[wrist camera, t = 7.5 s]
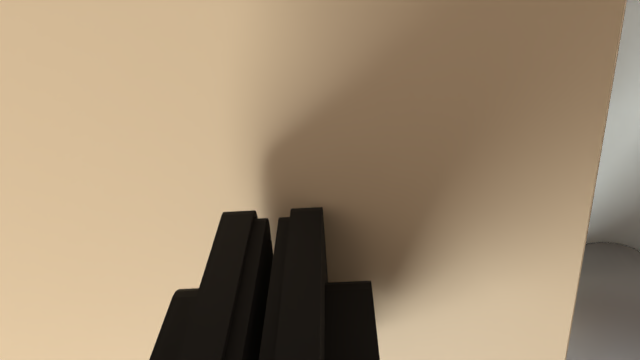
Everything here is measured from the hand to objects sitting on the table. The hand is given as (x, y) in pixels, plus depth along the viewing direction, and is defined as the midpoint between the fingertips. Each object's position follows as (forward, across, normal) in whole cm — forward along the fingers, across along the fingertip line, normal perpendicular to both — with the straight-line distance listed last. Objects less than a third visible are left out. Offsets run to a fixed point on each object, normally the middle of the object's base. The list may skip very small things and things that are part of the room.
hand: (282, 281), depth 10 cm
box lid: (+3, +2, 0) cm, 4 cm away
